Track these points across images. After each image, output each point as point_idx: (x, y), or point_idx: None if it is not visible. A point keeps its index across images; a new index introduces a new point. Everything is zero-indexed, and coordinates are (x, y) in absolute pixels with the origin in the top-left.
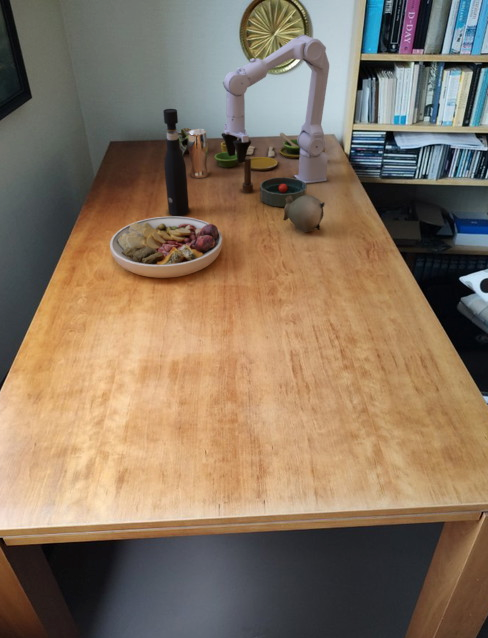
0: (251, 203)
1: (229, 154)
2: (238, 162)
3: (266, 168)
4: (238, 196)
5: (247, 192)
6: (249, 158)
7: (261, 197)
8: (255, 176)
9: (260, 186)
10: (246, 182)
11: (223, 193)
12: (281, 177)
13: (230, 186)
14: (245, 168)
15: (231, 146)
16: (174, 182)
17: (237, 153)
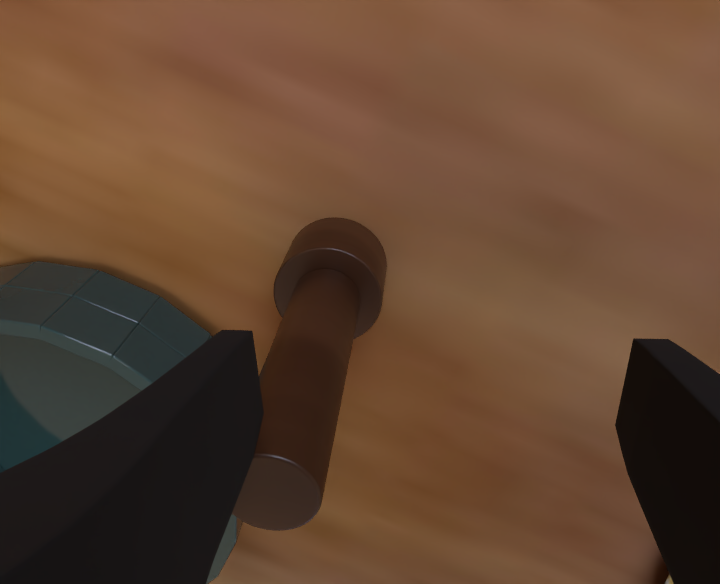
0: (55, 172)
1: (640, 360)
2: (233, 332)
3: (669, 575)
4: (249, 133)
5: (291, 244)
6: (250, 511)
7: (38, 276)
8: (622, 454)
9: (49, 334)
10: (297, 287)
11: (387, 16)
12: (220, 553)
13: (533, 170)
14: (273, 369)
15: (695, 509)
16: None
17: (124, 415)
